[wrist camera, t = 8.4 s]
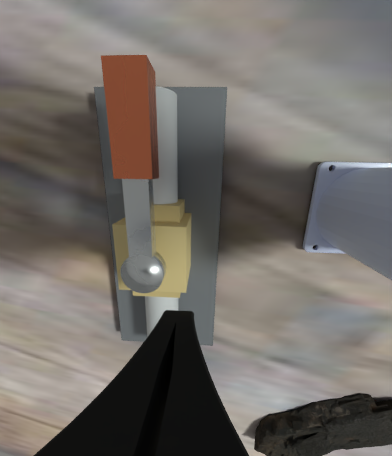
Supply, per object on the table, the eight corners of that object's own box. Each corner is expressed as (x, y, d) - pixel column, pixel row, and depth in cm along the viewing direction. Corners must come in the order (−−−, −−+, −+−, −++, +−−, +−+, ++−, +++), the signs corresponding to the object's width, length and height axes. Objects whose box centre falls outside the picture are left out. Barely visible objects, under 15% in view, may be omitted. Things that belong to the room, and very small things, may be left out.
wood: (432, 379, 23) (466, 409, 20) (429, 421, 25) (460, 455, 22) (243, 403, 26) (248, 434, 23) (253, 440, 28) (259, 473, 25)
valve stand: (225, 93, 15) (237, 43, 9) (212, 336, 22) (214, 398, 16) (102, 93, 16) (37, 44, 10) (126, 331, 23) (96, 390, 17)
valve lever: (167, 283, 13) (162, 296, 12) (129, 281, 13) (120, 294, 12) (160, 72, 10) (153, 54, 8) (110, 72, 10) (94, 55, 8)
